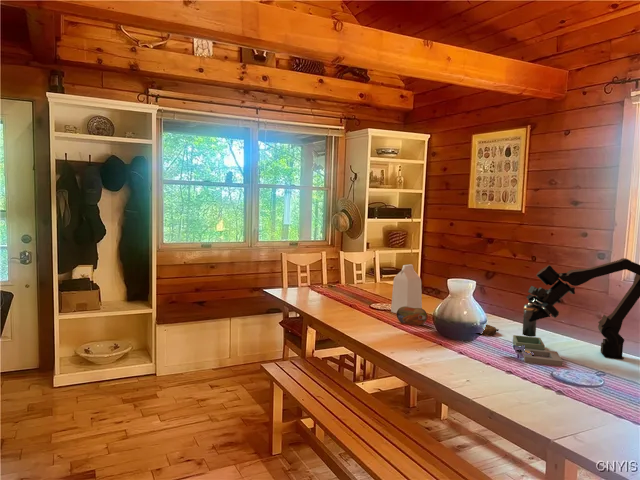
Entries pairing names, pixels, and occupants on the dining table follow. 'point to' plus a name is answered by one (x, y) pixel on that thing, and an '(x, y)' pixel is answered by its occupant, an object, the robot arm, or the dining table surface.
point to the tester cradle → (552, 360)
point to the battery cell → (528, 326)
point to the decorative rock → (489, 330)
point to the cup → (528, 342)
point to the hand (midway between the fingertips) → (526, 319)
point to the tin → (412, 315)
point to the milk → (406, 289)
